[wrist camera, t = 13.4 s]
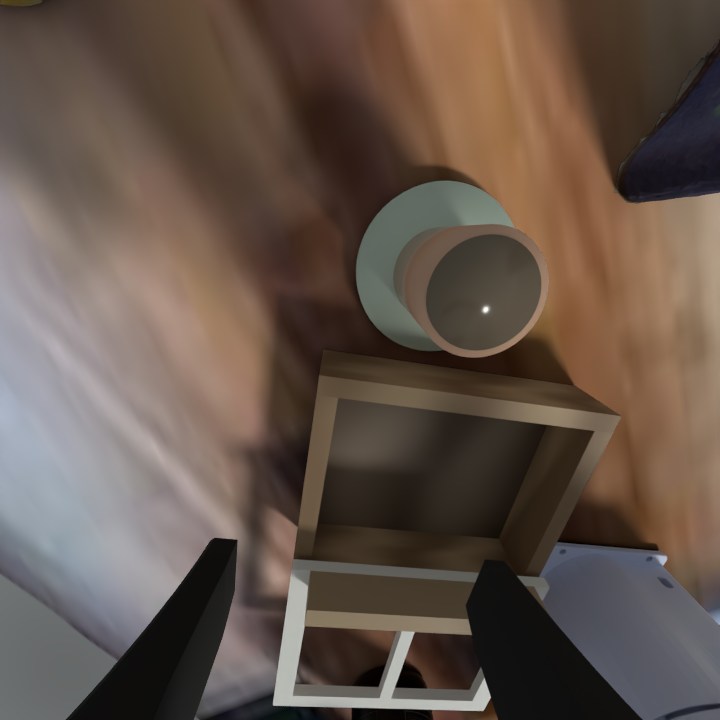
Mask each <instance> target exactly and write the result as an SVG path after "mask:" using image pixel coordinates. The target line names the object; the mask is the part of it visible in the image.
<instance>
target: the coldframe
mask: <svg viewBox="0 0 720 720" xmlns="http://www.w3.org/2000/svg"><path fill="white" fill-rule="evenodd" d="M620 418H621V416H620V415H619V414H617V413H616V412H614V411H613V410H611V409H610V408H608V407H607V406H605V405H604V404H602V403H601V402H599V401H598V400H596V399H595V398H593V397H592V396H590V395H588V394H587V393H585V392H584V391H582V390H581V389H579V388H578V387H576V386H574V385H567V384H560V383H553V382H546V381H539V380H532V379H525V378H518V377H511V376H504V375H497V374H491V373H484V372H477V371H470V370H463V369H456V368H449V367H442V366H435V365H428V364H421V363H414V362H407V361H400V360H394V359H387V358H380V357H373V356H366V355H359V354H352V353H345V352H338V351H331V350H324V349H323V354H322V361H321V367H320V374H319V381H318V388H317V395H316V402H315V409H314V416H313V423H312V430H311V438H310V445H309V452H308V459H307V466H306V473H305V480H304V487H303V495H302V502H301V509H300V516H299V523H298V530H297V537H296V544H295V552H294V559H299V560H313V561H326V562H340V563H353V564H367V565H380V566H393V567H407V568H420V569H434V570H447V571H461V572H474V573H479V572H480V570H481V567H482V565H483V563H484V560H485V559H487V560H500V561H505V563H506V564H507V565H508V566H509V567H510V568H511V570H512V571H513V572H514V573H515V574H516V576H528V577H539V576H540V574H541V572H542V570H543V568H544V566H545V564H546V562H547V561H548V559H549V557H550V555H551V553H552V551H553V549H554V547H555V545H556V543H557V541H558V539H559V537H560V535H561V533H562V531H563V529H564V527H565V525H566V523H567V522H568V520H569V518H570V516H571V514H572V512H573V510H574V508H575V506H576V504H577V502H578V500H579V498H580V496H581V494H582V492H583V490H584V488H585V486H586V485H587V483H588V481H589V479H590V477H591V475H592V473H593V471H594V469H595V467H596V465H597V463H598V461H599V459H600V457H601V455H602V453H603V451H604V449H605V447H606V446H607V444H608V442H609V440H610V438H611V436H612V434H613V432H614V430H615V428H616V426H617V424H618V422H619V420H620Z"/></svg>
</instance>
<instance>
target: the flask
mask: <svg viewBox="0 0 720 720" xmlns="http://www.w3.org/2000/svg"><path fill="white" fill-rule="evenodd" d="M679 91H680V93H679V94H678V95H677V96H678V97H677V99H676V101H675V102H676V103H675V104H674V105H673V107H671V108H670V109H669V111H668V112H663V113H660V118H659V119H658V122H657V124H656V127H655V128H654V129H653V131H652V132H651V133H650V134H649V135H647V136H646V137H645V138H643V139H642V138H641V139H640V140H641V141H640V143H639V144H638V145H637V147H636V148H635V149H634V150H633V151H632V152H631V153H630V155H629V156H628V157H627V158H626V160H625V161H624V162H622V164H621V165H620V167H619V171H618V176H617V178H618V179H617V182H616V183H617V186H616V189H615V191H614V193H618V194H619V195H620V196H621V197H622V198H623V199H624V200H625V201H626V202H628V203H635V204H638V203H641V202H648V201H660V200H667V199H674V198H681V197H692V196H701V195H706V194H713V193H719V192H720V39H719V41H718V42H717V44H716V45H715V46H714V47H713V50H711V51H710V52H708V53H707V56H705V58H702V59H701V60H700V61H699V63H698V64H697V66H696V67H695V68H694V69H693V70H692V71H690V72H689V75H688V77H687V79H686V80H685V81H684V82H683V83H682V85H681V89H680V90H679Z"/></svg>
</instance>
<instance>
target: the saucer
mask: <svg viewBox="0 0 720 720" xmlns="http://www.w3.org/2000/svg"><path fill="white" fill-rule="evenodd" d="M482 224H501V225H506V226H510V227H513V228H514V226H513V223H512V221H511V219H510V218H509V216H508V214H507V213H506V211H505V210H504V209H503V207H502V206H501V205H500V204H499V203H498V202H497V201H496V200H495V199H494V198H493V197H492V196H490V195H489V194H487V193H486V192H484V191H483V190H481V189H479V188H477V187H475V186H472V185H469V184H466V183H462V182H456V181H435V182H429V183H425V184H421V185H418V186H415V187H413V188H411V189H409V190H407V191H405V192H403V193H401V194H400V195H398V196H397V197H395V198H394V199H392V200H391V201H390V202H389V203H388V204H386V205H385V206H384V207H383V208H382V209H381V210H380V211H379V212H378V214H377V215H376V216H375V217H374V218H373V220H372V221H371V223H370V224H369V226H368V228H367V230H366V232H365V233H364V235H363V238H362V241H361V243H360V246H359V250H358V254H357V260H356V283H357V289H358V293H359V296H360V300H361V303H362V305H363V308H364V310H365V312H366V314H367V315H368V317H369V318H370V320H371V321H372V323H373V324H374V325H375V326H376V328H377V329H378V330H380V331H381V332H382V333H383V334H384V335H385V336H387V337H388V338H389V339H391V340H392V341H394V342H396V343H398V344H400V345H402V346H405V347H408V348H411V349H416V350H422V351H440V350H444V349H442V348H441V347H439V346H438V345H437V344H436V343H435V342H433V341H432V339H431V338H430V337H429V336H428V335H427V333H426V332H425V331H424V330H423V329H422V327H421V326H420V325H419V324H418V323H417V321H416V320H415V319H414V318H413V317H412V315H411V314H410V313H409V312H408V311H407V310H406V308H405V307H404V306H403V305H402V304H401V302H400V300H399V299H398V297H397V294H396V291H395V288H394V281H393V275H394V268H395V263H396V261H397V258H398V256H399V254H400V252H401V250H402V249H403V247H404V246H405V245H406V244H407V243H408V242H409V241H410V240H411V239H412V238H413V237H415V236H416V235H417V234H419V233H421V232H423V231H425V230H428V229H431V228H436V227H451V226H466V225H482Z"/></svg>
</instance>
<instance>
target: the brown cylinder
mask: <svg viewBox="0 0 720 720" xmlns="http://www.w3.org/2000/svg"><path fill="white" fill-rule="evenodd" d="M393 281H394V288H395V291H396V294H397V297H398V299H399V300H400V302H401V304H402V305H403V306H404V307H405V308H406V310H407V311H408V312H409V313H410V314H411V315H412V317H413V318H414V319H415V320H416V321H417V323H418V324H419V325H420V326H421V327H422V329H423V330H424V331H425V332H426V333H427V335H428V336H429V337H430V338H431V339H432V341H433V342H435V343H436V344H437V345H438V346H439V347H441V348H442V349H444V350H445V351H447V352H449V353H452V354H455V355H458V356H462V357H471V358H477V357H485V356H490V355H494V354H497V353H499V352H502V351H504V350H506V349H508V348H509V347H511V346H513V345H514V344H516V343H517V342H518V341H519V340H521V339H522V338H523V337H524V336H525V335H526V334H527V333H528V332H529V331H530V330H531V328H532V327H533V326H534V324H535V323H536V321H537V320H538V318H539V316H540V314H541V313H542V310H543V308H544V305H545V302H546V299H547V295H548V287H549V276H548V268H547V265H546V261H545V259H544V256H543V254H542V252H541V251H540V249H539V247H538V246H537V245H536V244H535V242H534V241H533V240H532V239H531V238H530V237H528V236H527V235H526V234H525V233H523V232H521V231H519V230H518V229H515V228H513V227H510V226H506V225H501V224H482V225H466V226H451V227H436V228H431V229H428V230H425V231H423V232H421V233H419V234H417V235H416V236H415V237H413V238H412V239H411V240H410V241H409V242H408V243H407V244H406V245H405V246H404V247H403V249H402V250H401V252H400V254H399V256H398V258H397V261H396V263H395V268H394V275H393Z"/></svg>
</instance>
